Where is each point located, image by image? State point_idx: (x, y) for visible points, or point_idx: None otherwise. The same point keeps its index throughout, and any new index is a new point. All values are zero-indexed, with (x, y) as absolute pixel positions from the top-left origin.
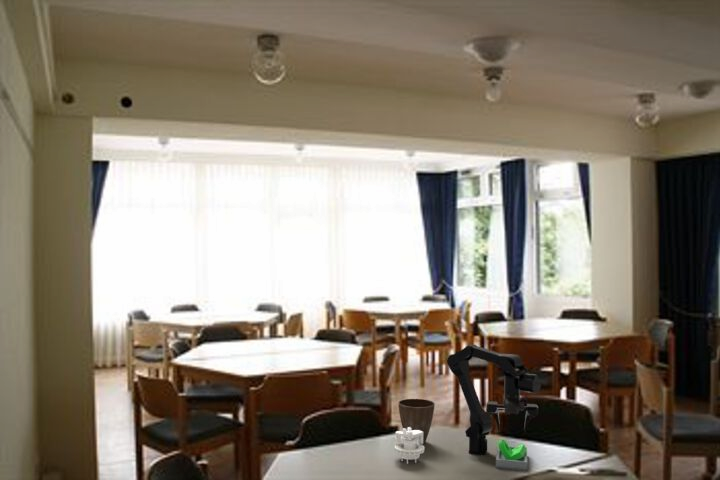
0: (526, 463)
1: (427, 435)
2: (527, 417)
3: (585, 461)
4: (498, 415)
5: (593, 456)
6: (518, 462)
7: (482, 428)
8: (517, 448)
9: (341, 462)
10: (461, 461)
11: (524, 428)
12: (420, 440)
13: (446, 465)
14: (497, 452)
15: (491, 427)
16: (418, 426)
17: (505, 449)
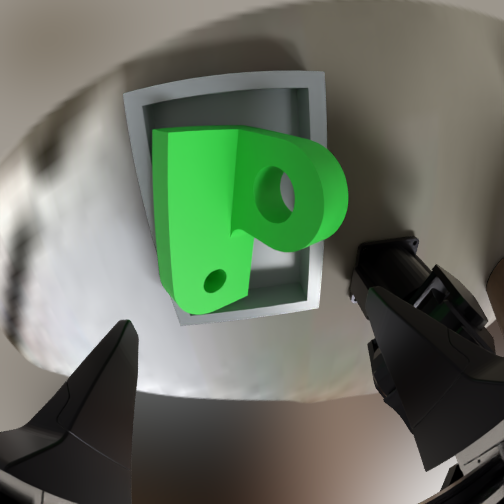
0: (130, 91)
1: (500, 289)
2: (20, 447)
3: (12, 304)
4: (446, 412)
5: (23, 343)
6: (178, 81)
7: (451, 304)
8: (210, 271)
9: None
10: (445, 136)
11: (115, 346)
12: None
13: (478, 85)
14: None
15: (381, 362)
16: None
17: (280, 139)
